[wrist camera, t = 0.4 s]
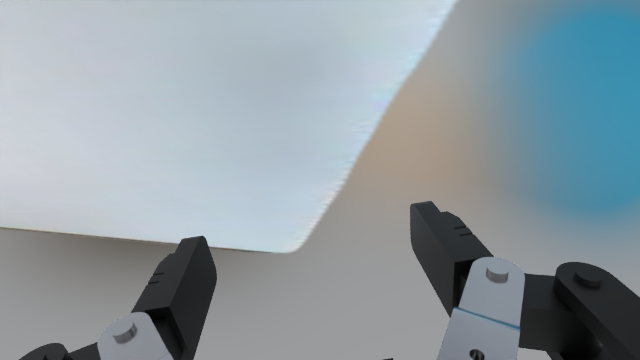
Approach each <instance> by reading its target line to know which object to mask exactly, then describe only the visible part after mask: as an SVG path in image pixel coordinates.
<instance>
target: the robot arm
mask: <svg viewBox="0 0 640 360" xmlns="http://www.w3.org/2000/svg"><path fill="white" fill-rule="evenodd" d="M410 231H411V243H412V247H413V251H414V253H415V255H416V257H417V259H418V261H419V262H420V264H421V266H422V268H423V270H424V271H425V273H426V275H427V277H428V279H429V280H430V282H431V284H432V286H433V288H434V290H435V291H436V293H437V295H438V297H439V298H440V300H441V302H442V304H443V306H444V308H445V309H446V311H447V313H448V315H449V317H450V321H449V324H448V327H447V330H446V333H445V336H444V339H443V342H442V345H441V348H440V351H439V354H438V357H437V360H517V353H518V347H520V348H527V349H535V350H542V351H546V352H547V354H548V355H549V356H550V358H551V359H552V360H640V297H638V296H637V295H636V294H635V293H634V292H632V291H631V290H630V289H629V288H628V287H626V286H625V285H624V284H623V283H621V282H620V281H619V280H618V279H617V278H615V277H614V276H613V275H612V274H610V273H609V272H607V271H605V270H603V269H601V268H599V267H596V266H593V265H590V264H586V263H580V262H568V263H564V264H561V265H560V266H559V267H558V268H557V270H556V275H555V276H547V275H533V274H525V273H523V271H522V270H521V269H520V268H519V267H518V266H517V265H516V264H514V263H512V262H510V261H508V260H506V259H502V258H498V257H494V256H493V255H492V254H491V253H490V252H489V251H488V250H487V248H486V247H485V246H484V245H483V244H482V243H481V242H480V241H479V240H478V238H477V237H476V236H475V235H473V234H472V232H471V231H470V229H469V228H467V227H466V225H465V224H464V223H463V222H462V220H461V219H460V218H459V217H457V216H455V215H453V214H451V213H449V212H440V211H439V210H438V208H437V207H436V206H435V205H434V203H433V202H432V201H427V202H421V203H414V204H411V207H410ZM216 281H217V273H216V267H215V264H214V261H213V258H212V256H211V253H210V250H209V247H208V244H207V241H206V239H205V237H204V236H198V237H191V238H185V239H182V240H181V242H180V244H179V246H178V248H177V249H176V251H175V253H173V254H169V255H168V256H167V257H166V258H165V259H164V260H163V261H161V262H160V263H159V265H158V266H157V268H156V270H155V272H154V273H153V276H152V277H151V279H150V280H149V282H148V285H147V286H146V287H145V289H144V291H143V293H142V295H141V296H140V298H139V300H138V301H137V303H136V305H135V307H134V308H133V310H132V312H131V313H130V314H127V315H125V316H123V317H121V318H119V319H117V320H116V321H114V322H113V323H112V324H110V325H109V326H108V327H107V328H106V329H105V330H104V331H103V332H102V334H101V335H100V337H99V339H98V342H96V343H94V344H91V345H89V346H86V347H84V348H81V349H78V350H76V351H73V352H71V353H68V351H67V350H66V348H65V347H64V345H62V344H60V343H51V344H47V345H44V346H41V347H39V348H37V349H35V350H33V351H31V352H30V353H28V354H26V355H25V356H23V357H22V358H21V359H19V360H193V359H194V356H195V352H196V349H197V346H198V342H199V339H200V336H201V332H202V329H203V326H204V323H205V319H206V316H207V313H208V309H209V306H210V302H211V299H212V296H213V292H214V289H215V286H216ZM384 360H393V358H391V359H384Z"/></svg>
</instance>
